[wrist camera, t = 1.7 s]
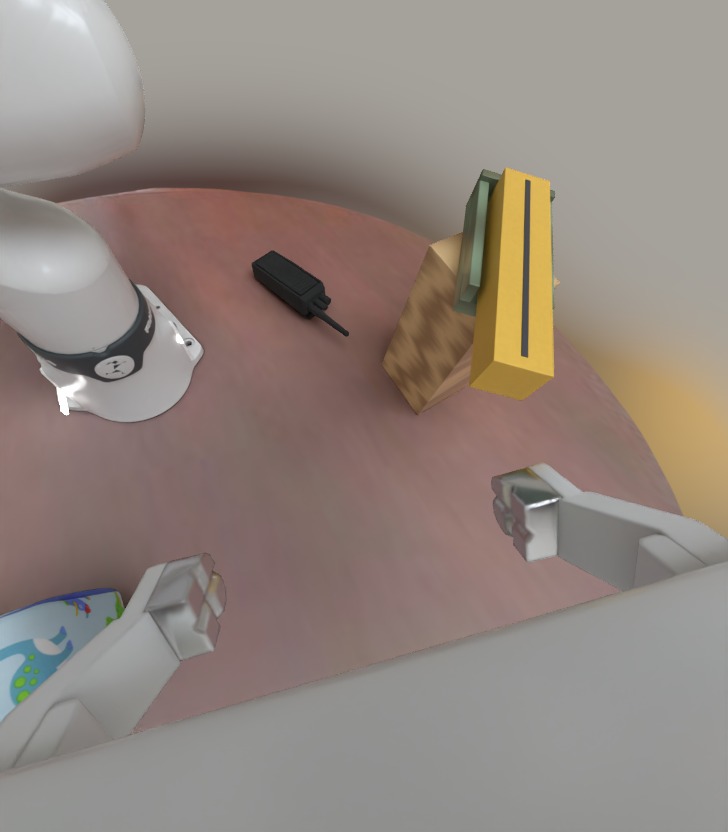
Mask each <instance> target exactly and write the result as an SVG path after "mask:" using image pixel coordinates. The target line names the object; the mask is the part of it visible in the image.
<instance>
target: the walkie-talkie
mask: <svg viewBox="0 0 728 832" xmlns="http://www.w3.org/2000/svg"><path fill="white" fill-rule="evenodd" d="M252 268H253V272H254V276H255V278H257V279H258V280H259V281H260V282H262V283H263V284H264V285H265V286H267V287H268V288H269V289H270V290H272V291H273V292H274V293H275V294H277V295H278V296H279V297H281V298H282V299H283V300H285V301H286V302H287V303H289V304H290V305H291V306H292V307H293V308H295V309H296V310H297V311H298V312H300V313H301V314H302V315H304V316H305V317H306V318H308V319H311V318H312V317H314V316H317V317H319V318H320V319H322V320H323V321H325V322H326V323H328V324H329V325H331V326H332V327H333V328H335V329H336V330H337V331H339V332H340V333H342V334H343V335H344V336H346V337H347V336H348V335H349V332H348V331H346V330H345V329H344V328H342V327H341V326H340V325H339V324H337V323H336V322H335V321H334V320H332V319H331V318H330V317H329V316H327V315H326V314H325V313H324V312H323V311H322V310H326V309H327V308H328V305H329V304H330V302H331V299H330V298H329V297H328V296H325V288H324V285H323V283H322V282H321V281H320V280H319V279H317V278H316V277H314V276H313V275H311V274H310V273H308V272H307V271H305V270H304V269H302V268H301V267H299V266H298V265H296V264H295V263H293V262H292V261H290V260H288V259H287V258H285V257H283V256H282V255H280V254H278V253H277V252H275V251H270V252H269V253H267V254H265V255H264V256H262V257H261V258H259V259H258V260H256V261H255V262H253V263H252ZM321 309H322V310H321Z"/></svg>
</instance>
